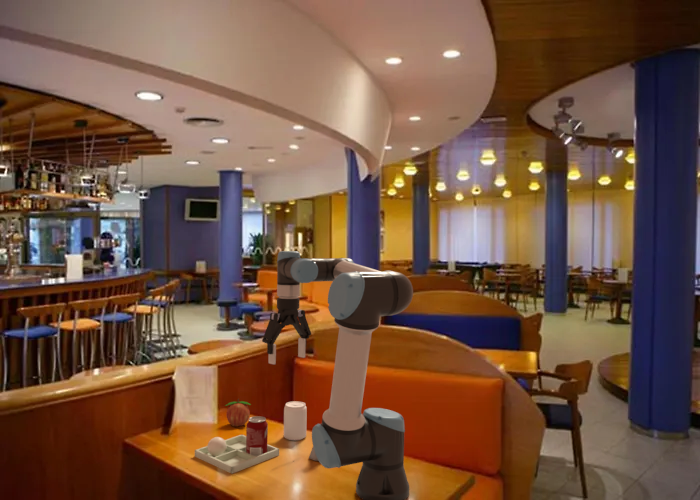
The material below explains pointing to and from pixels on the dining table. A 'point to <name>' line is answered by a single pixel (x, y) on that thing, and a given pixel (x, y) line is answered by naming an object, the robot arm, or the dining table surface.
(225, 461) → the caddy
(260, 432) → the soda can
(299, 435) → the beverage can
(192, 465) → the dining table surface
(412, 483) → the dining table surface
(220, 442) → the ceramic egg
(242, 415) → the fruit
